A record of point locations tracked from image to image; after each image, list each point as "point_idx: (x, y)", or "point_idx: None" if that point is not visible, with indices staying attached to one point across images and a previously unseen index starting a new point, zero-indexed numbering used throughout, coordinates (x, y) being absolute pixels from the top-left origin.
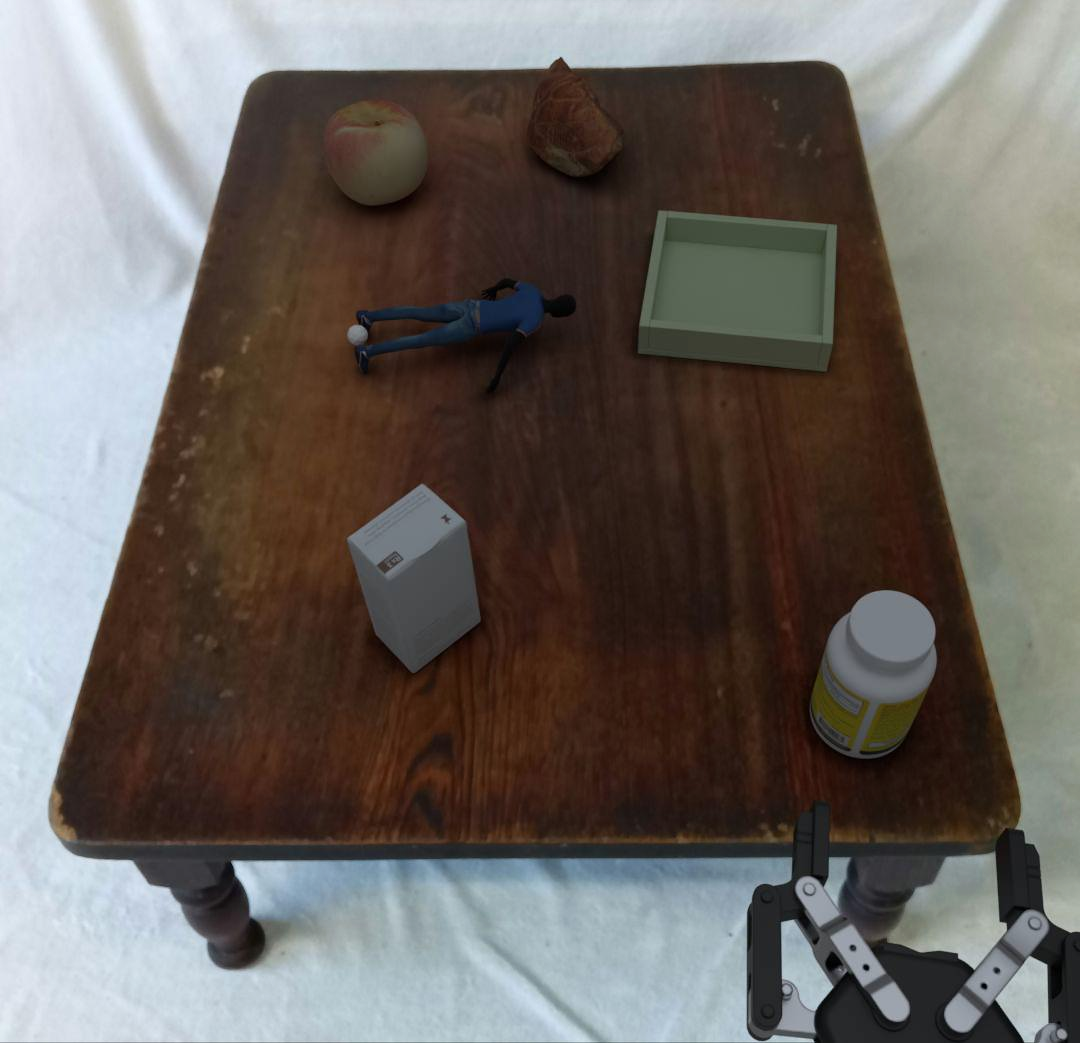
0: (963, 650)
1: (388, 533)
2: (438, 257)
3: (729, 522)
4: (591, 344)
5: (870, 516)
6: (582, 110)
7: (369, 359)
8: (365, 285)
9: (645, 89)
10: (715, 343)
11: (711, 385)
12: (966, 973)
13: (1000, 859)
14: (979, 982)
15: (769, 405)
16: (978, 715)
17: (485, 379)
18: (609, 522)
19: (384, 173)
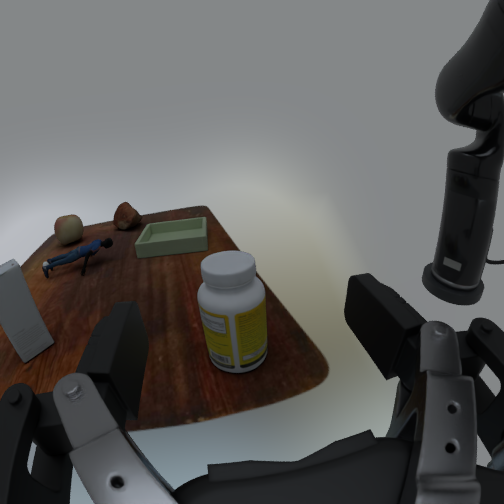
0: (285, 314)
1: None
2: None
3: (167, 295)
4: (121, 259)
5: None
6: (126, 208)
7: (47, 271)
8: None
9: (152, 214)
10: (163, 246)
11: (163, 260)
12: (401, 451)
13: (357, 319)
14: (441, 447)
15: (186, 261)
16: (301, 336)
17: (83, 273)
18: None
19: (67, 229)
